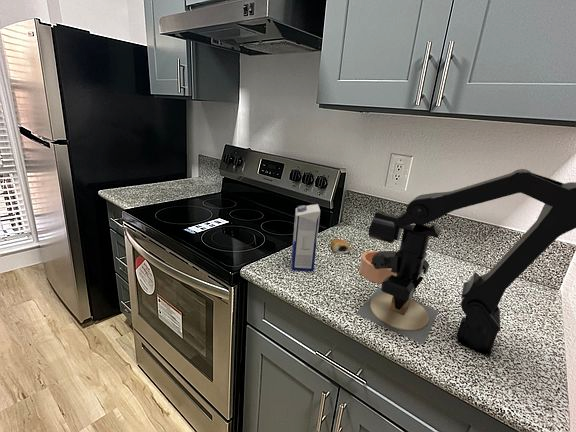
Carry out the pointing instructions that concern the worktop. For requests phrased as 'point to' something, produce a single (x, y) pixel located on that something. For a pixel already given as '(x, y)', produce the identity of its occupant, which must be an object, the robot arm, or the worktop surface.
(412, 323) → the lid
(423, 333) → the mat
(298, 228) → the milk carton
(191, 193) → the worktop surface
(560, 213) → the robot arm
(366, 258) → the bowl
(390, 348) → the worktop surface
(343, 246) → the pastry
